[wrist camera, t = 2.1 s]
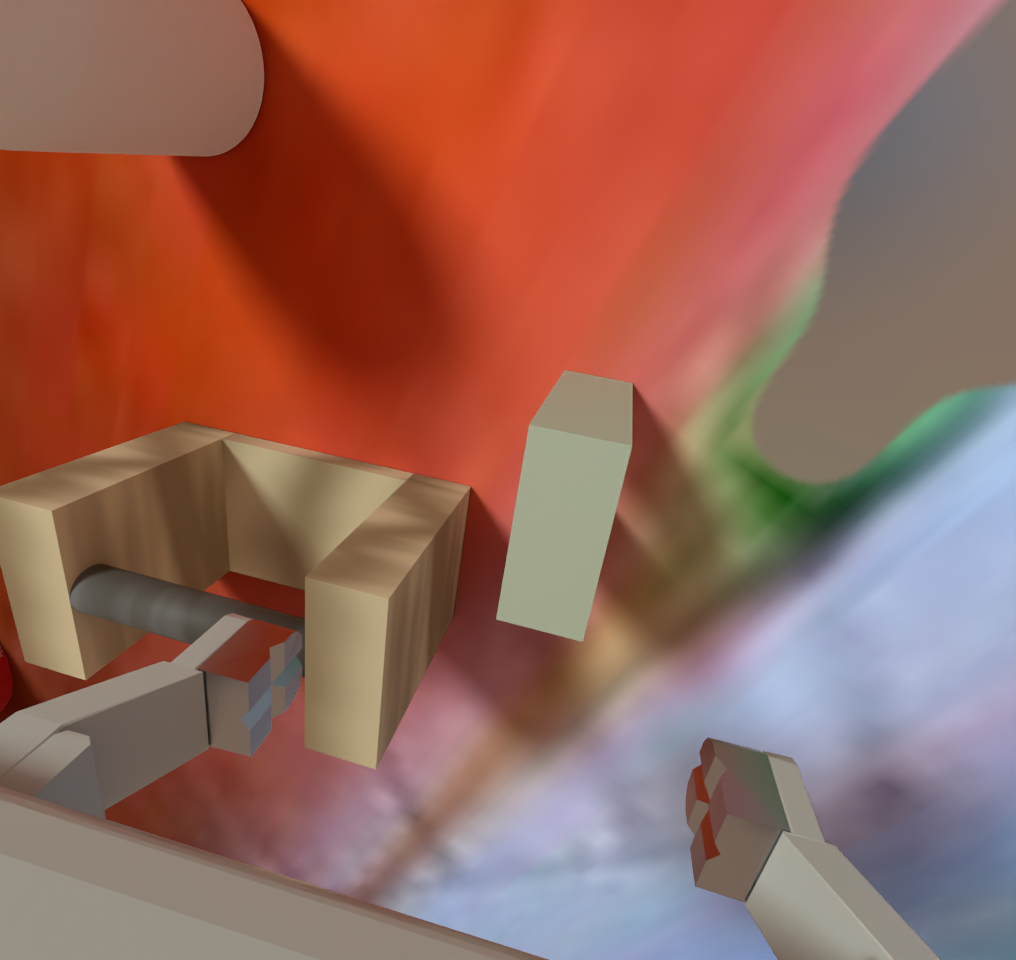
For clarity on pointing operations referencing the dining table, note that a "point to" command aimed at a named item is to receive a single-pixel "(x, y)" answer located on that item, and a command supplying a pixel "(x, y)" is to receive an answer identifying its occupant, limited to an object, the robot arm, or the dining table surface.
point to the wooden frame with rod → (241, 564)
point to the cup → (128, 76)
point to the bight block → (566, 504)
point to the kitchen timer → (5, 680)
